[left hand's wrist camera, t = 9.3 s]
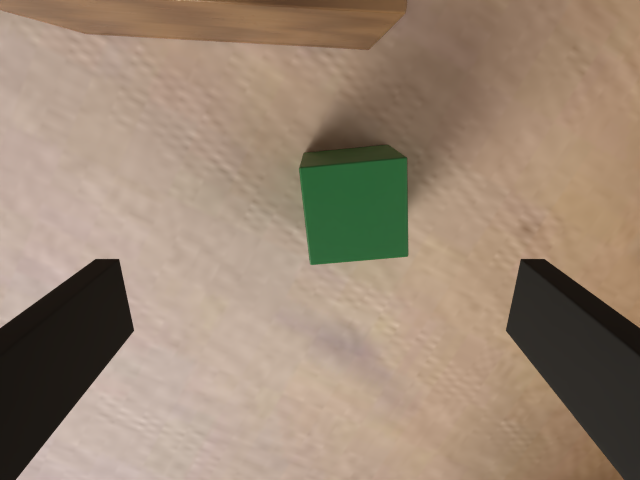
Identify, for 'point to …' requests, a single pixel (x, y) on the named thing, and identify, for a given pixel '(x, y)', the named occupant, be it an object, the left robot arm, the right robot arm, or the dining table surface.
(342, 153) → the block
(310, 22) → the chest
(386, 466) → the dining table surface
